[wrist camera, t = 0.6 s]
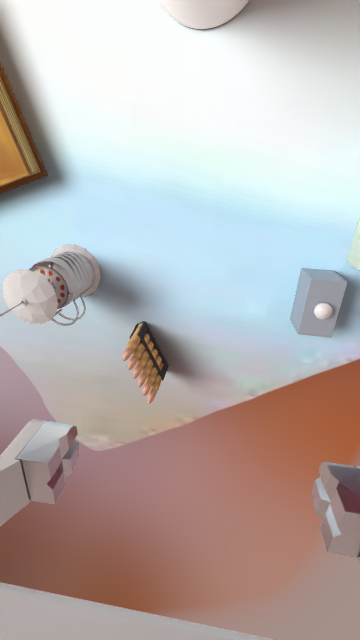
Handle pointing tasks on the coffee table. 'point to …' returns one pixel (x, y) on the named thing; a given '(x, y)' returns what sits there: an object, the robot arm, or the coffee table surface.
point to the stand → (355, 248)
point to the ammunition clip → (145, 360)
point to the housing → (317, 302)
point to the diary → (15, 143)
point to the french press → (52, 285)
